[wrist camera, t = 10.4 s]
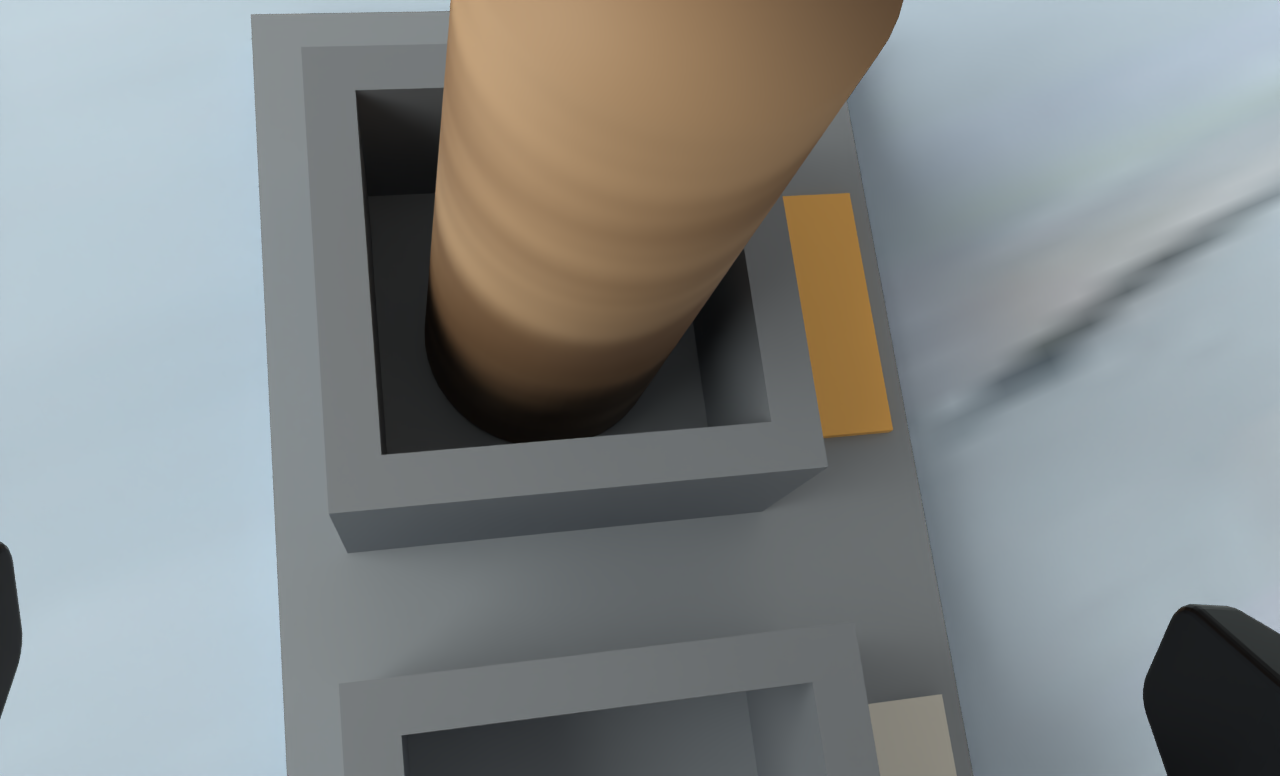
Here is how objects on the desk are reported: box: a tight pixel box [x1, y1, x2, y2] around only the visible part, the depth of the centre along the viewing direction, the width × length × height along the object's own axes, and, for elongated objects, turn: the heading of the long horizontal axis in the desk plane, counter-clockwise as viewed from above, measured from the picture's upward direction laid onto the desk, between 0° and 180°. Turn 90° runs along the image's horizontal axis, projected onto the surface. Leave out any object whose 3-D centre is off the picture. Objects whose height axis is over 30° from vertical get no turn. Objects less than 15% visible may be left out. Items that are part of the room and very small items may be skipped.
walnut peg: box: [424, 0, 903, 444], centre depth 17 cm, size 4×4×12 cm
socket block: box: [251, 11, 973, 776], centre depth 21 cm, size 22×12×5 cm, turn 7°
